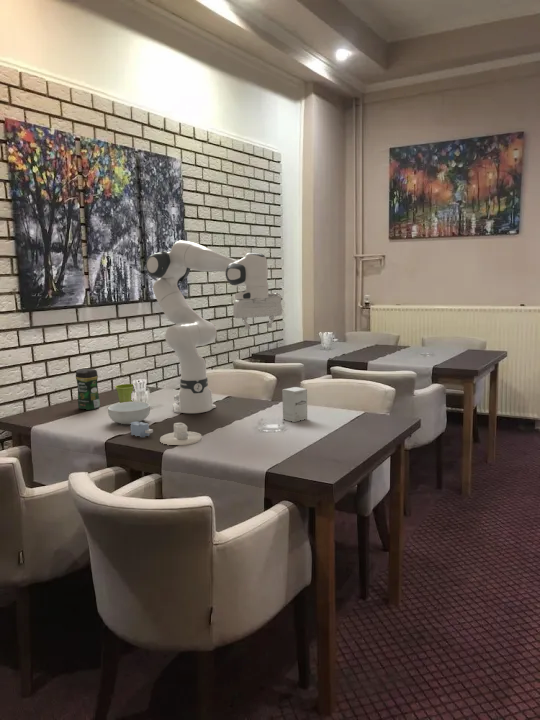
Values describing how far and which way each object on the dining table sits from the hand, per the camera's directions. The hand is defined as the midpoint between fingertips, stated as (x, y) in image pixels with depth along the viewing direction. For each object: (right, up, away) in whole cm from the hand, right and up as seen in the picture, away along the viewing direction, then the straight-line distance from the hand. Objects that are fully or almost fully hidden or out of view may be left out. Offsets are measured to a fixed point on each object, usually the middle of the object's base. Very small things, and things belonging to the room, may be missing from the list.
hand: (258, 328), depth 233 cm
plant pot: (-63, -34, +40) cm, 82 cm away
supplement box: (+15, -37, +2) cm, 40 cm away
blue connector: (-45, -41, -14) cm, 62 cm away
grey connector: (-28, -41, -22) cm, 54 cm away
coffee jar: (-79, -35, +33) cm, 92 cm away
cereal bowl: (-53, -39, +5) cm, 66 cm away
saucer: (-28, -42, -22) cm, 55 cm away
